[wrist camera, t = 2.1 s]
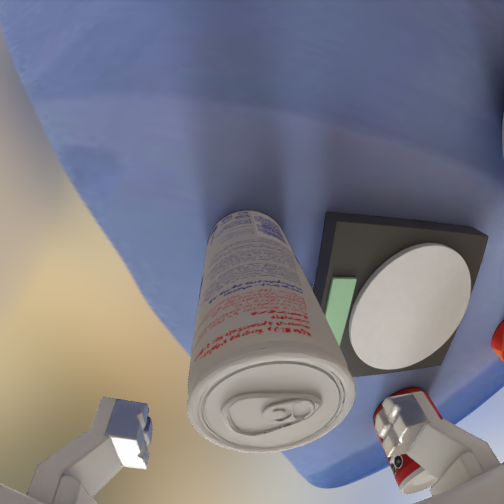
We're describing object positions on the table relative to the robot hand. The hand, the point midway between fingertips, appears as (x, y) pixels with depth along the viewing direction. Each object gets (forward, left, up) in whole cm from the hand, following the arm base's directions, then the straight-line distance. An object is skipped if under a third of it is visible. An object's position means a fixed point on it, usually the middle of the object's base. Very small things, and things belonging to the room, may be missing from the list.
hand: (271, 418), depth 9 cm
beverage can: (0, 0, -15) cm, 15 cm away
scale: (+4, +13, -15) cm, 20 cm away
